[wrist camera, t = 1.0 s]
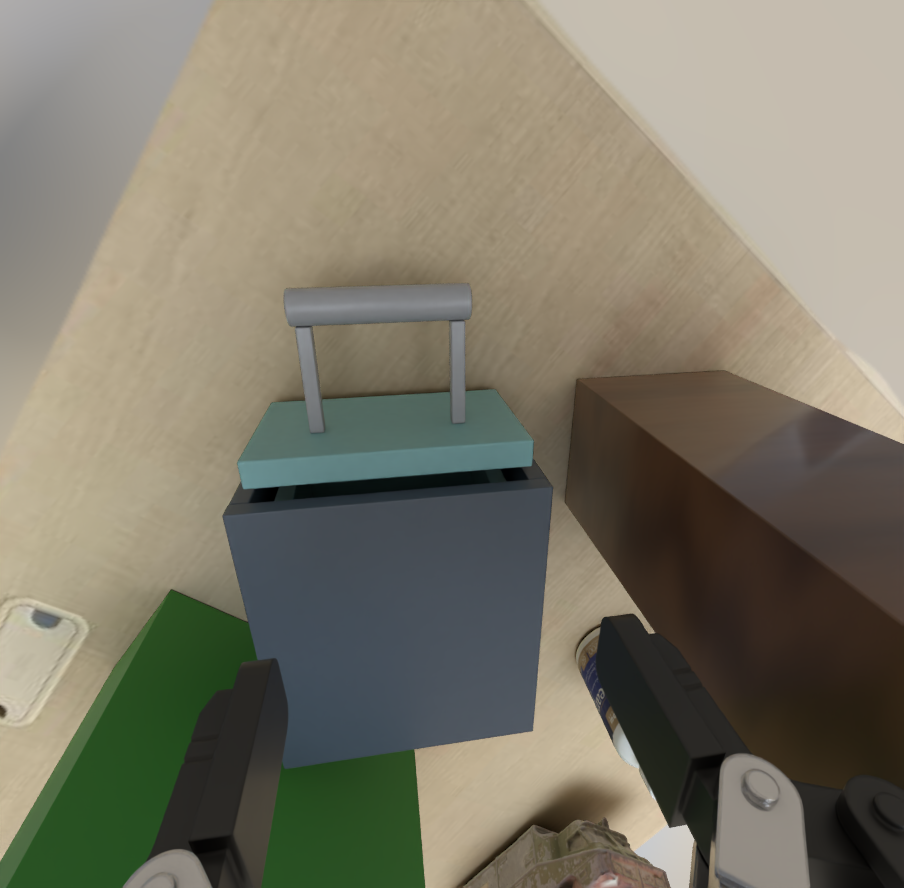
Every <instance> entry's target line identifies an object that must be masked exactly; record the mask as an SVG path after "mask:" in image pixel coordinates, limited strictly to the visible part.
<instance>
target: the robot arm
mask: <svg viewBox="0 0 904 888" xmlns="http://www.w3.org/2000/svg"><path fill="white" fill-rule="evenodd" d="M596 671H597V675H598V679H599V682H600V684H601V687H602V689H603V691H604V693H605V695H606V697H607V699H608V701H609V703H610V705H611V707H612V710H613V712H614V714H615V716H616V718H617V720H618V722H619V724H620V726H621V728H622V730H623V732H624V734H625V736H626V739H627V741H628V743H629V745H630V747H631V749H632V751H633V753H634V755H635V757H636V759H637V761H638V763H639V765H640V768H641V770H642V772H643V774H644V776H645V778H646V780H647V782H648V784H649V786H650V788H651V790H652V792H653V794H654V797H655V799H656V801H657V803H658V805H659V807H660V809H661V811H662V813H663V815H664V817H665V819H666V821H667V823H668V826H669V828H671V827H676V826H682V825H687V826H688V828H689V829H690V832H691V834H692V835H693V837H694V839H695V840H694V844H693V850H692V862H691V872H690V883H689V888H904V790H903V789H901V788H900V787H898V786H896V785H894V784H893V783H891V782H889V781H886V780H884V779H881V778H878V777H875V776H870V775H857V776H854V777H852V778H850V779H849V780H848V781H847V783H846V785H845V787H844V788H843V790H842V789H836V788H831V787H826V786H820V785H815V784H809V783H804V782H799V781H795V780H792V779H789V778H788V777H787V776H786V775H785V774H784V773H783V772H782V771H781V770H779V769H778V768H777V767H776V766H774V765H773V764H771V763H770V762H768V761H766V760H764V759H762V758H760V757H757V756H754V755H753V754H752V753H751V752H750V750H749V749H748V748H747V747H746V745H745V744H744V742H743V741H742V740H741V738H740V737H739V735H738V734H737V732H736V731H735V730H734V728H733V727H732V725H731V724H730V722H729V721H728V720H727V718H726V717H725V715H724V714H723V712H722V711H721V710H720V708H719V707H718V705H717V704H716V702H715V701H714V700H713V698H712V697H711V695H710V694H709V692H708V691H707V690H706V688H705V687H703V686H702V682H701V681H700V680H699V678H698V677H697V675H696V674H695V672H694V671H692V670H691V667H690V665H689V664H688V662H687V661H686V660H685V658H684V657H683V655H682V654H681V653H680V651H679V650H678V648H677V647H675V646H674V645H673V644H672V643H670V642H669V641H668V640H667V639H665V638H664V637H663V636H662V635H660V634H659V633H654V634H648V632H647V631H646V629H645V628H644V626H643V625H642V623H641V622H640V620H639V619H638V618H637V617H636V616H635V615H634V614H626V615H618V616H610V617H604V618H603V619H602V622H601V627H600V634H599V640H598V647H597V653H596ZM287 729H288V701H287V697H286V693H285V688H284V684H283V680H282V676H281V672H280V668H279V664H278V661H277V659H276V658H271V659H264V660H256V661H248V662H243V663H241V665H240V667H239V670H238V673H237V676H236V680H235V683H234V686H233V689H225V690H218V691H216V692H215V694H214V695H213V696H212V698H211V699H210V700H209V702H208V703H207V704H206V705H205V707H204V708H203V709H202V711H201V712H200V714H199V717H198V719H197V722H196V725H195V728H194V731H193V734H192V737H191V743H189V745H188V748H187V751H186V754H185V757H184V763H183V764H182V765H181V768H180V771H179V774H178V777H177V780H176V783H175V786H174V788H173V791H172V794H171V797H170V800H169V803H168V806H167V809H166V811H165V814H164V817H163V820H162V823H161V826H160V829H159V832H158V834H157V837H156V840H155V843H154V845H153V848H152V850H151V852H150V854H149V856H148V858H147V860H146V861H145V863H144V864H143V865H142V866H141V867H140V868H139V869H137V870H136V871H135V873H134V874H133V875H132V876H131V877H130V878H129V879H128V881H127V882H126V883H125V884H124V886H123V887H122V888H261V885H262V879H263V873H264V867H265V861H266V855H267V849H268V843H269V837H270V831H271V825H272V819H273V813H274V807H275V801H276V795H277V789H278V783H279V777H280V771H281V765H282V759H283V753H284V747H285V741H286V735H287Z"/></svg>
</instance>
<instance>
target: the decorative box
mask: <svg viewBox="0 0 904 888" xmlns="http://www.w3.org/2000/svg"><path fill="white" fill-rule="evenodd" d="M462 888H671V887H670V884H669V881H668V879H667V875H666V872H665V871H664V870H661V869H659V868H657V867H654V866H653V865H652V864H650V862H649V861H648V860H646V859H645V858H642V857H640V856H638V855H637V854H635V853H634V852H633V851H632V850H631V849H630V844H629V843H627V838H626V836H624V835H623V834H621V833H618V832H616V831H613V830H610V829H609V825H608V821H607V819H606V818H605V817H603V818H602V820H601V821H600V822H599V823H598V824H595V823H593V822H590V821H587V820H585V821H582V820H575V821H573V822H572V823H571V824H569V825H568V826H567V827H566V828H565V829H564V830H563V831H561V832H560V833H559V834H558V833H555V832H553V831H550V830H548V829H545V828H542V827H539V826H536V825H532V826H531V827H530V828H529V829H528V830H527V831H526V832H525V833H524V834H523V835H522V836H520V837H519V838H518V840H517V841H516V842H515V843H513V844H512V845H511V846H510V847H509V848H507V849H506V850H505V851H504V852H502V853H501V854H500V855H499V856H497V857H496V858H495V860H494V861H492V862H491V863H490V864H489V865H488V866H487V867H485V868H484V869H483V870H482V871H481V872H479V873H478V874H477V875H476V876H475V877H474V878H473V879H472V880H470V881H469V882H468V883H467V884H466V885H464V887H462Z"/></svg>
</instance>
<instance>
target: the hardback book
mask: <svg viewBox="0 0 904 888" xmlns="http://www.w3.org/2000/svg"><path fill="white" fill-rule="evenodd" d="M256 660H257V656H256V652H255V647H254V643H253V639H252V635H251V631H250V627H249V623H247V622H245V621H242V620H240V619H238V618H235V617H233V616H231V615H228V614H226V613H224V612H221V611H219V610H217V609H214V608H212V607H210V606H208V605H205V604H203V603H201V602H198V601H196V600H194V599H191V598H189V597H187V596H184V595H182V594H180V593H177V592H175V591H173V590H171V591H170V592H169V593H168V595H167V596H166V597H165V599H164V600H163V602H162V603H161V604H160V606H159V607H158V608H157V610H156V611H155V612H154V614H153V615H152V617H151V618H150V619H149V621H148V622H147V623H146V625H145V626H144V628H143V629H142V630H141V632H140V633H139V634H138V636H137V637H136V638H135V640H134V641H133V643H132V644H131V645H130V647H129V648H128V649H127V651H126V652H125V654H124V655H123V656H122V658H121V659H120V660H119V662H118V663H117V664H116V666H115V667H114V669H113V670H112V672H111V673H110V675H109V677H108V679H107V680H106V682H105V684H104V685H103V687H102V689H101V691H100V692H99V694H98V696H97V697H96V699H95V701H94V703H93V704H92V706H91V708H90V709H89V711H88V713H87V714H86V716H85V718H84V720H83V721H82V723H81V725H80V726H79V728H78V730H77V732H76V733H75V735H74V737H73V738H72V740H71V742H70V744H69V745H68V747H67V749H66V750H65V752H64V754H63V756H62V757H61V759H60V761H59V762H58V764H57V766H56V767H55V769H54V771H53V773H52V774H51V776H50V778H49V779H48V781H47V783H46V785H45V786H44V788H43V790H42V791H41V793H40V795H39V797H38V798H37V800H36V802H35V803H34V805H33V807H32V808H31V810H30V812H29V814H28V815H27V817H26V819H25V820H24V822H23V824H22V826H21V827H20V829H19V831H18V832H17V834H16V836H15V838H14V839H13V841H12V843H11V844H10V846H9V848H8V850H7V851H6V853H5V855H4V856H3V858H2V860H1V861H0V888H122V887H123V886H124V884H125V883H126V882H127V881H128V879H129V878H130V877H131V876H132V875H133V874H134V873H135V871H136V870H137V869H139V868H140V867H141V866H142V865H143V864H144V863H145V861H146V860H147V858H148V856H149V854H150V852H151V850H152V848H153V845H154V843H155V840H156V837H157V834H158V832H159V829H160V826H161V823H162V820H163V817H164V814H165V811H166V809H167V806H168V803H169V800H170V797H171V794H172V791H173V788H174V786H175V783H176V780H177V777H178V774H179V771H180V768H181V765H182V764H183V763H184V757H185V754H186V751H187V748H188V745H189V743H191V737H192V734H193V731H194V728H195V725H196V722H197V719H198V717H199V714H200V712H201V711H202V709H203V708H204V707H205V705H206V704H207V703H208V702H209V700H210V699H211V698H212V696H213V695H214V694H215V692H216V691H218V690H225V689H233V686H234V683H235V680H236V676H237V673H238V670H239V667H240V665H241V663H243V662H248V661H256ZM261 888H425V879H424V866H423V853H422V841H421V828H420V815H419V802H418V790H417V777H416V764H415V752H414V749H413V750H406V751H400V752H393V753H387V754H380V755H374V756H367V757H361V758H354V759H348V760H341V761H334V762H328V763H321V764H315V765H308V766H302V767H295V768H289V769H284V766H283V762H282V765H281V771H280V777H279V783H278V789H277V795H276V801H275V807H274V813H273V819H272V825H271V831H270V837H269V843H268V849H267V855H266V861H265V867H264V873H263V879H262V885H261Z"/></svg>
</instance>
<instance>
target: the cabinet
mask: <svg viewBox="0 0 904 888" xmlns="http://www.w3.org/2000/svg"><path fill="white" fill-rule="evenodd" d="M500 470H501V472H502V473H503V475H504V477H505V479H506V481H507V482H496V483H485V484H473V485H461V486H449V487H437V488H426V489H414V490H402V491H390V492H378V493H367V494H355V495H343V496H331V497H319V498H307V499H296V500H284V501H274V500H275V497H276V495H277V492H278V489H279V487H268V488H256V489H243V487H242V483H241V482H240V484H239V486H238V488H237V490H236V492H235V494H234V496H233V498H232V500H231V502H230V504H229V505H228V506H227V508H226V510H225V512H224V514H223V520H224V525H225V529H226V533H227V537H228V541H229V545H230V549H231V553H232V557H233V561H234V566H235V570H236V574H237V578H238V582H239V586H240V590H241V594H242V598H243V602H244V606H245V611H246V615H247V619H248V623H249V627H250V631H251V635H252V639H253V643H254V647H255V652H256V656H257V660H264V659H271V658H276V659H277V661H278V664H279V668H280V672H281V676H282V680H283V684H284V688H285V693H286V697H287V701H288V729H287V735H286V741H285V747H284V753H283V759H282V762H283V766H284V769H289V768H295V767H302V766H308V765H315V764H321V763H328V762H334V761H341V760H348V759H354V758H361V757H367V756H374V755H380V754H387V753H393V752H400V751H406V750H413V749H419V748H426V747H432V746H439V745H445V744H452V743H458V742H465V741H471V740H478V739H484V738H491V737H497V736H504V735H510V734H517V733H523V732H530V731H533V723H534V711H535V699H536V686H537V674H538V662H539V650H540V638H541V626H542V614H543V602H544V590H545V578H546V566H547V554H548V542H549V530H550V518H551V506H552V494H553V487H552V485H551V484H550V482H549V481H548V479H547V478H546V476H545V475H544V474H543V472H542V471H541V469H540V468H539V466H538V465H537V463H536V462H535V460H534V459H533V463H532V466H527V467H515V468H503V469H500Z"/></svg>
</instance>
